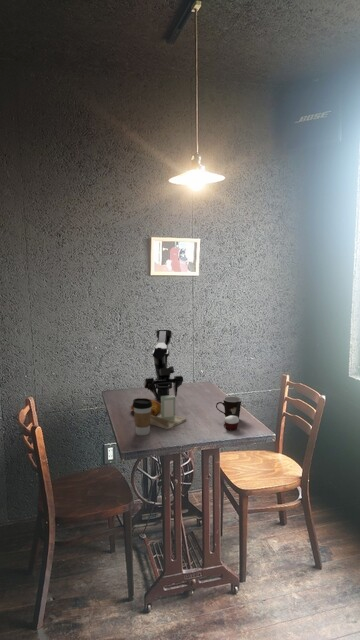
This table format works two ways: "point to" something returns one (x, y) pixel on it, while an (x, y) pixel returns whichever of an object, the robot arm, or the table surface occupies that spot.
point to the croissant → (153, 407)
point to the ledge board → (166, 421)
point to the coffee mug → (230, 406)
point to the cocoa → (232, 420)
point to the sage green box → (168, 407)
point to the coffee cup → (142, 415)
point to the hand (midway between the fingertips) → (166, 397)
